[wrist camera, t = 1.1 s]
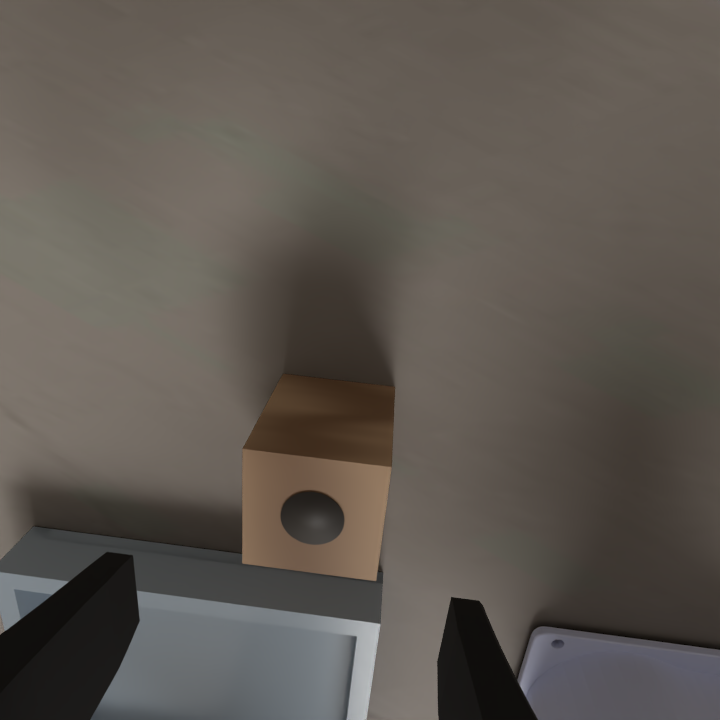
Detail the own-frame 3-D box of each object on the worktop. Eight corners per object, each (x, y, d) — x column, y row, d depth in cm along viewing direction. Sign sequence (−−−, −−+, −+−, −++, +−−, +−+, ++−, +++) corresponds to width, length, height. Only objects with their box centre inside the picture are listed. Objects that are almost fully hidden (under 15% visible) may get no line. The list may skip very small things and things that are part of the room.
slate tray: (383, 572, 21) (380, 623, 19) (355, 765, 26) (351, 823, 24) (33, 526, 22) (-11, 570, 20) (71, 722, 27) (40, 776, 25)
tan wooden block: (395, 386, 18) (391, 468, 14) (382, 480, 20) (376, 582, 15) (283, 373, 18) (241, 449, 14) (280, 467, 20) (241, 565, 15)
